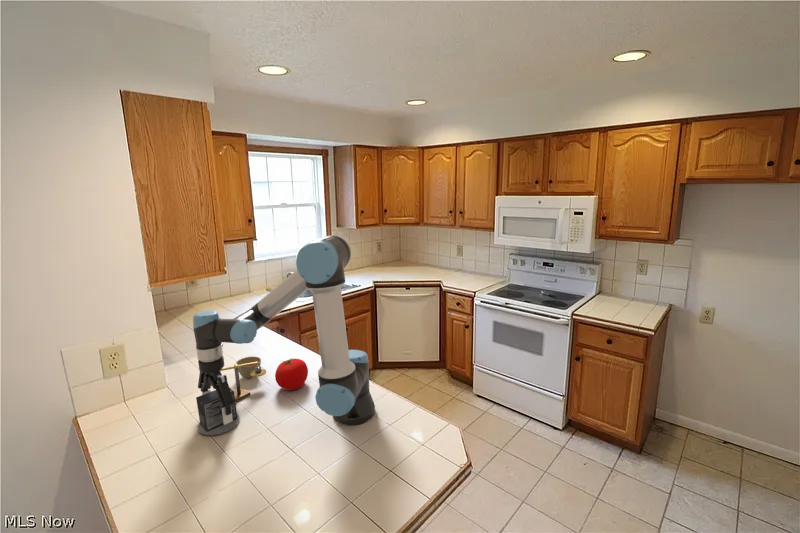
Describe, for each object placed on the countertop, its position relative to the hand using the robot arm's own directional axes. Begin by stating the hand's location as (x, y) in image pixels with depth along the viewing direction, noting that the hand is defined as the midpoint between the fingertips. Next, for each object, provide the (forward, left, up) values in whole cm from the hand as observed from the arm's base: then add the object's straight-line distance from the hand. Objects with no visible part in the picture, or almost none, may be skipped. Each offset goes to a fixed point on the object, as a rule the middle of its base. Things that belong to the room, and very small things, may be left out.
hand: (218, 415), depth 130 cm
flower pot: (+23, -25, -4) cm, 34 cm away
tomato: (+1, -31, -4) cm, 31 cm away
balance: (+12, -14, -4) cm, 19 cm away
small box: (0, 0, -3) cm, 3 cm away
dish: (0, 0, -4) cm, 4 cm away
